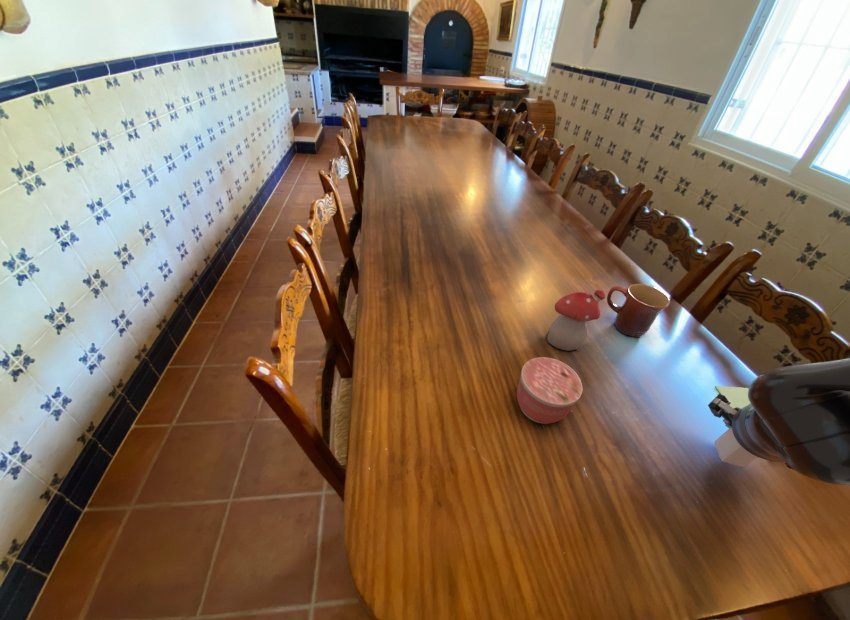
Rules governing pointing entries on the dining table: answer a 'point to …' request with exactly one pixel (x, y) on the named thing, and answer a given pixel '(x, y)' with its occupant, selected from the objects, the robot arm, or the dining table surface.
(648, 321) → the mug
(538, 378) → the container
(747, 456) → the salt shaker
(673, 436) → the dining table surface
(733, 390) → the edge strip
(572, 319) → the decorative ornament
